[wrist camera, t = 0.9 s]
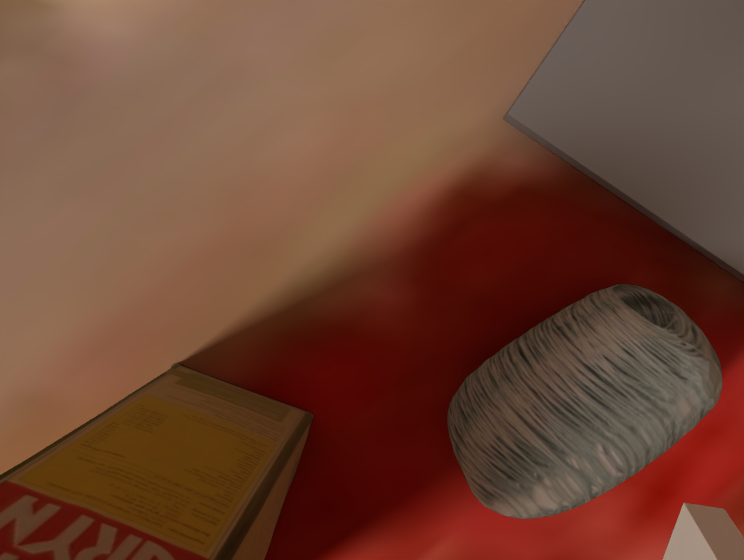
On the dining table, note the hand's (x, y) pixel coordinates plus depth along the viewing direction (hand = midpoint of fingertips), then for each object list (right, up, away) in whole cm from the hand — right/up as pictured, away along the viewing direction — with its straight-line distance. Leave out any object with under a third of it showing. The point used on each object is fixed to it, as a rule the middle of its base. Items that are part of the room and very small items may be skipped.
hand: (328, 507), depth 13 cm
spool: (+11, -1, +25) cm, 27 cm away
